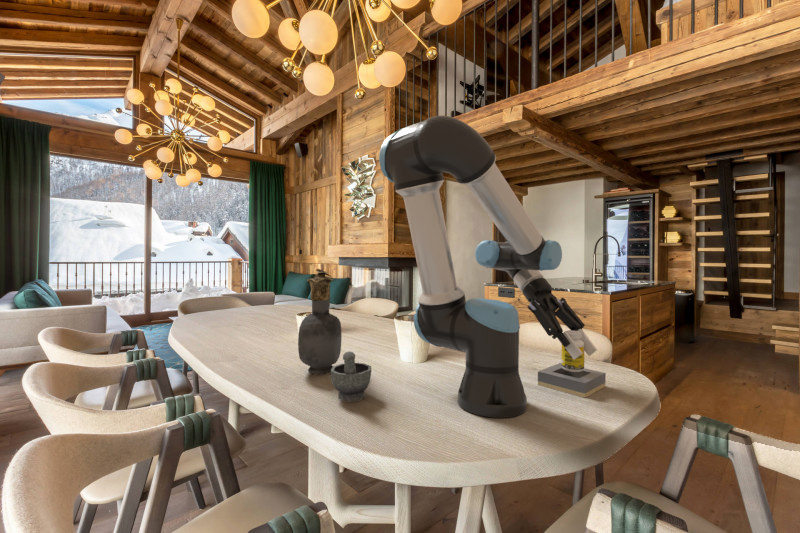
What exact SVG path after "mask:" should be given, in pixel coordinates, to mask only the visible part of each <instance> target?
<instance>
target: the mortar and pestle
mask: <svg viewBox="0 0 800 533" xmlns="http://www.w3.org/2000/svg"><path fill="white" fill-rule="evenodd" d="M355 359H356V354H355V353H354V352H353V351H346V352H344V353H343V355H342V360H343V361H344V362H343V363H340V364H336V365H334V366H333V367H332V369H331V372H330V381H331V384H332V385H333V387H334V389H335V390H336V391H338V400H340V401H341V402H346V401H347V403H351V402H352V403H354V402H359V401H361V400H364V398H365V390H366V389H367V388H368V386H369V384H370V383H371V377H372V366H371V365H369V364H367V363H363V362H360V363H359V362H356V360H355ZM353 401H354V402H353Z"/></svg>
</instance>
